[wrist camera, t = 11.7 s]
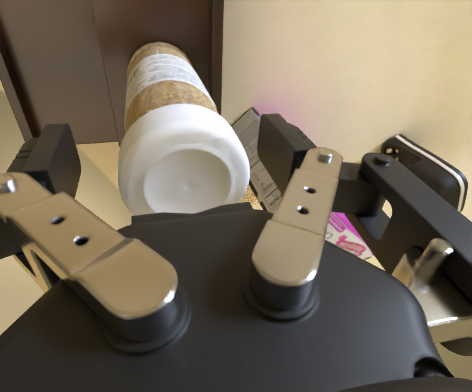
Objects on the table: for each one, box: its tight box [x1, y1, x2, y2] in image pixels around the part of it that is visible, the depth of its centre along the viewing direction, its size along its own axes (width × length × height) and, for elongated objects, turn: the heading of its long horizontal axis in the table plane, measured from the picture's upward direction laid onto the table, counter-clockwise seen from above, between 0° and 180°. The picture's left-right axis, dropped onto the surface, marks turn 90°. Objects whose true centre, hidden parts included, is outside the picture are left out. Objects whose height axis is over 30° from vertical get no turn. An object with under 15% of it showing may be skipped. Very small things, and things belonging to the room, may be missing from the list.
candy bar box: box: [231, 107, 374, 260], centre depth 31 cm, size 11×5×16 cm, turn 42°
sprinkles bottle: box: [118, 42, 250, 216], centre depth 15 cm, size 5×5×13 cm
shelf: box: [0, 0, 224, 147], centre depth 23 cm, size 14×15×10 cm
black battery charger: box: [381, 134, 468, 212], centre depth 39 cm, size 7×4×11 cm, turn 21°
